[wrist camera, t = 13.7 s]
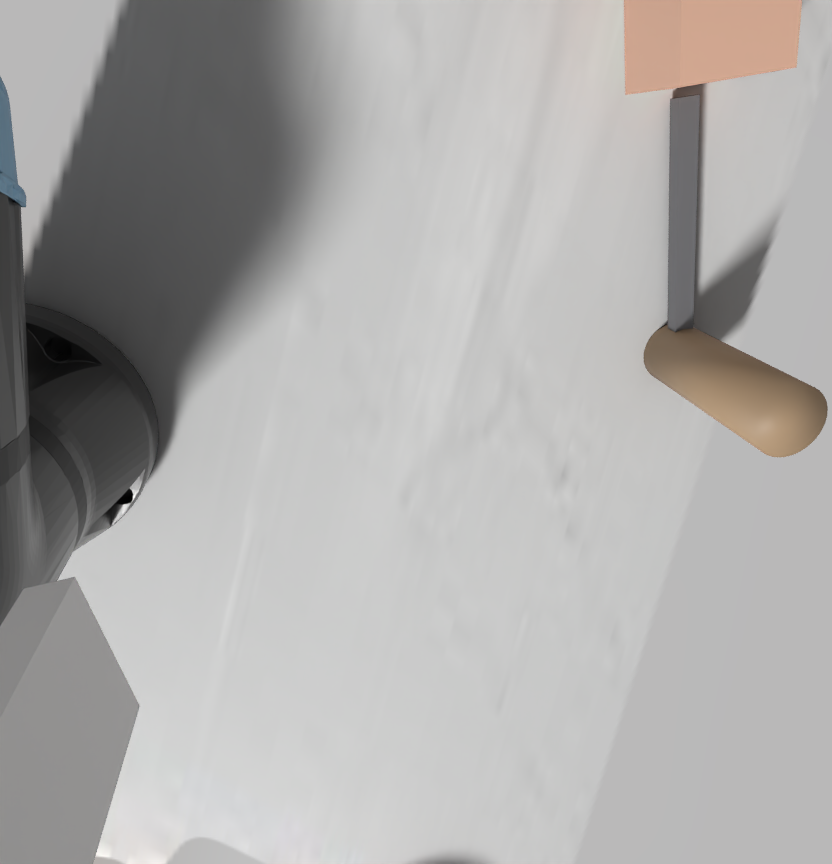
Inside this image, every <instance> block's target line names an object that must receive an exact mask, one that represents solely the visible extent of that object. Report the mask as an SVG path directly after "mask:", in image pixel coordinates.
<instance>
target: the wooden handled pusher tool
mask: <svg viewBox="0 0 832 864" xmlns="http://www.w3.org/2000/svg"><path fill="white" fill-rule="evenodd" d="M801 6H802V0H624V21H625V89H626V95H627V94H635V93H642V92H650V91H657V90H665V89H673V88H680V87H686V86H692V85H697V84H703V83H709V82H715V81H720V80H726V79H732V78H738V77H744V76H749V75H755V74H761V73H767V72H773V71H778V70H784V69H790V68H796V66H797V54H798V42H799V30H800V18H801ZM699 108H700V94H699V95H690V96H684V97H679V98H673V99H670V162H669V250H668V325H665V326H663V327H662V328H660V329H659V330H657V331H656V332H655V333H654V334H653V335H652V337H651V338H650V339H649V341H648V343H647V345H646V347H645V351H644V363H645V367H646V369H647V371H648V372H649V373H650V374H651V375H652V376H654V377H655V378H656V379H658V380H659V381H661V382H662V383H664V384H665V385H667V386H668V387H669V388H671V389H672V390H674V391H675V392H677V393H678V394H679V395H681V396H682V397H684V398H685V399H687V400H688V401H690V402H691V403H692V404H694V405H695V406H697V407H698V408H700V409H701V410H702V411H704V412H705V413H707V414H708V415H710V416H711V417H713V418H714V419H715V420H717V421H718V422H720V423H721V424H723V425H724V426H726V427H727V428H729V429H730V430H731V431H733V432H734V433H736V434H737V435H739V436H740V437H741V438H743V439H745V440H746V441H747V442H748V443H750V444H751V445H753V446H754V447H756V448H757V449H759V450H760V451H761V452H763V453H764V454H766V455H769V456H772V457H786V456H790V455H793V454H796V453H798V452H800V451H801V450H803V449H805V448H806V447H807V446H808V445H810V444H811V443H812V442H813V441H814V440H815V439H816V437H817V436H818V435H819V433H820V432H821V430H822V428H823V426H824V424H825V421H826V418H827V402H826V399H825V397H824V396H823V394H822V393H821V392H820V391H819V390H818V389H816V388H814V387H812V386H810V385H808V384H806V383H804V382H802V381H800V380H798V379H796V378H794V377H792V376H790V375H788V374H786V373H784V372H782V371H780V370H778V369H776V368H774V367H772V366H770V365H768V364H766V363H764V362H762V361H760V360H758V359H756V358H754V357H752V356H750V355H748V354H746V353H744V352H742V351H740V350H738V349H736V348H734V347H732V346H730V345H728V344H726V343H724V342H722V341H720V340H718V339H716V338H714V337H712V336H710V335H708V334H706V333H704V332H702V331H700V330H698V329H696V328H694V327H693V317H694V282H695V247H696V212H697V178H698V143H699Z"/></svg>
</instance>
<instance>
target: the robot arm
mask: <svg viewBox="0 0 832 864" xmlns="http://www.w3.org/2000/svg"><path fill="white" fill-rule="evenodd" d="M21 207H26V195H25V192H24V190H23V189H22V188H21V187H20V186H19V185H18V181H17V172H16V161H15V151H14V142H13V132H12V122H11V113H10V103H9V98H8V94H7V90H6V88H5V85H4V83H3V81H2V79H1V77H0V864H93V862H94V858H95V855H96V852H97V848H98V845H99V841H100V838H101V835H102V831H103V828H104V825H105V821H106V818H107V814H108V811H109V808H110V804H111V801H112V798H113V794H114V791H115V787H116V784H117V781H118V777H119V774H120V771H121V767H122V764H123V760H124V757H125V754H126V750H127V747H128V744H129V740H130V737H131V733H132V730H133V727H134V723H135V720H136V717H137V713H138V710H139V704H138V702H137V700H136V698H135V696H134V694H133V692H132V690H131V688H130V686H129V684H128V682H127V680H126V678H125V676H124V674H123V672H122V670H121V668H120V666H119V664H118V662H117V660H116V658H115V656H114V654H113V652H112V650H111V648H110V646H109V644H108V642H107V640H106V638H105V636H104V634H103V632H102V630H101V628H100V626H99V624H98V622H97V620H96V618H95V616H94V614H93V612H92V610H91V608H90V606H89V604H88V602H87V600H86V598H85V596H84V594H83V592H82V590H81V588H80V586H79V584H78V582H77V580H76V578H75V577H72V578H68V579H63V580H59V581H57V580H58V578H59V576H60V574H61V572H62V571H63V569H64V567H65V565H66V563H67V561H68V560H69V558H70V556H71V554H72V552H73V551H75V550H76V549H78V548H79V547H81V546H82V545H84V544H86V543H87V542H89V541H90V540H92V539H93V538H95V537H96V536H98V535H99V534H101V533H103V532H104V531H106V530H107V529H109V528H110V527H111V526H113V525H114V524H115V523H116V522H117V521H119V520H120V519H121V518H122V517H123V516H124V515H125V514H126V513H127V511H128V510H129V509H130V508H131V507H132V506H133V504H134V503H135V502H136V500H137V499H138V497H139V495H140V494H141V492H142V490H143V488H144V486H145V484H146V482H147V480H148V478H149V475H150V473H151V471H152V468H153V466H154V463H155V459H156V455H157V450H158V422H157V416H156V412H155V408H154V405H153V402H152V399H151V397H150V394H149V392H148V390H147V388H146V386H145V384H144V382H143V381H142V379H141V377H140V376H139V374H138V373H137V371H136V370H135V368H134V367H133V366H132V365H131V363H130V362H129V361H128V360H127V359H126V357H125V356H124V355H123V354H122V353H121V352H120V351H119V350H118V349H117V348H116V347H114V346H113V345H112V344H111V343H110V342H109V341H107V340H106V339H105V338H104V337H102V336H101V335H100V334H98V333H97V332H95V331H94V330H92V329H91V328H89V327H87V326H86V325H84V324H82V323H80V322H78V321H76V320H74V319H72V318H70V317H68V316H66V315H63V314H61V313H58V312H55V311H52V310H49V309H46V308H42V307H38V306H34V305H29V304H25V295H24V272H23V249H22V228H21Z"/></svg>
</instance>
